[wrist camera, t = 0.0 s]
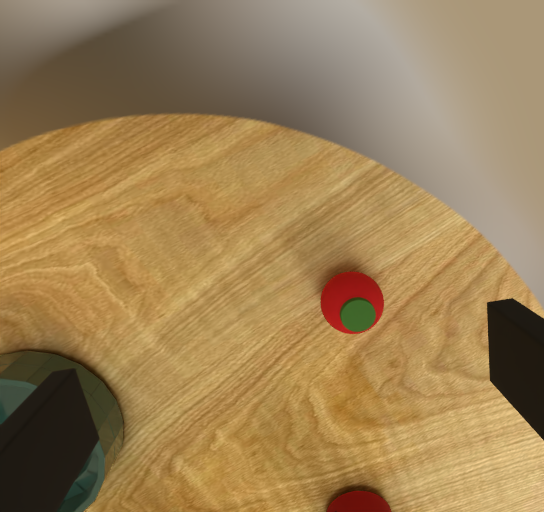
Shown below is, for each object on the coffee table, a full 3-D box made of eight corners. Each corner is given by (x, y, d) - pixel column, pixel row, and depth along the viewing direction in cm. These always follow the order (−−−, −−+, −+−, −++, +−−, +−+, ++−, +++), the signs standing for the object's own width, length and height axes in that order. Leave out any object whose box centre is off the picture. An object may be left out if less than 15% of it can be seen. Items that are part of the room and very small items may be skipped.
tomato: (313, 269, 34) (320, 290, 29) (372, 259, 34) (388, 279, 29) (322, 321, 36) (329, 351, 31) (378, 312, 35) (395, 341, 30)
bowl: (-60, 361, 37) (-109, 394, 32) (99, 335, 36) (72, 365, 31) (-1, 492, 41) (-37, 538, 36) (143, 471, 40) (125, 516, 35)
